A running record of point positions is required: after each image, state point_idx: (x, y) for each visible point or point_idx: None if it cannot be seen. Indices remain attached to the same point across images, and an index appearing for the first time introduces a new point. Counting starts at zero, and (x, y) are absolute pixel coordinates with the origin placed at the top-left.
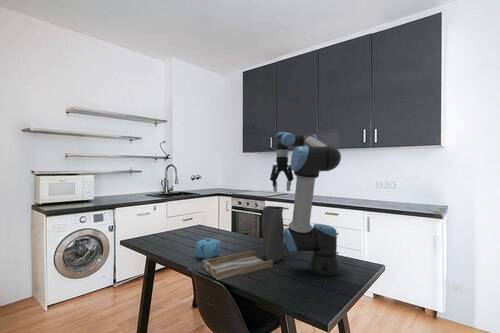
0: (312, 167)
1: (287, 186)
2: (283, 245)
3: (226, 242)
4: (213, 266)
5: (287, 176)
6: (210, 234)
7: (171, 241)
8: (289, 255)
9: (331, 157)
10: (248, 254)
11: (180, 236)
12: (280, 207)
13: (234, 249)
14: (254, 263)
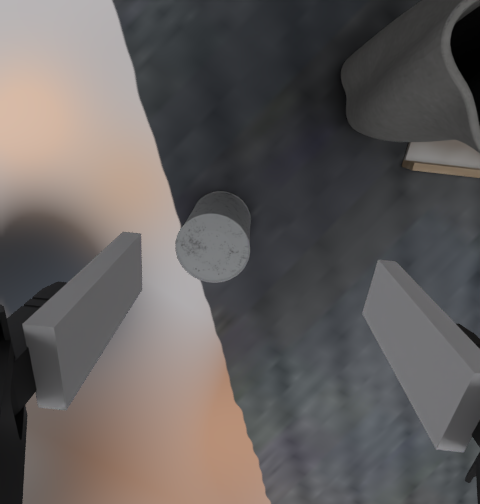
0: None
1: (115, 311)
2: (207, 195)
3: (349, 352)
4: None
5: (6, 494)
6: (325, 445)
7: (474, 447)
8: (277, 84)
9: None
10: (441, 165)
11: (415, 472)
12: (448, 54)
13: None
14: None
